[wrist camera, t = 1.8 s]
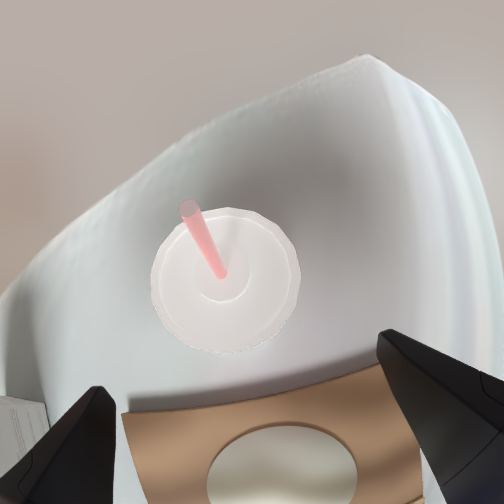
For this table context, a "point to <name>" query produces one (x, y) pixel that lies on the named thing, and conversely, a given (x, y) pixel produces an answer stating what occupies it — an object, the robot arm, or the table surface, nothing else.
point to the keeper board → (282, 448)
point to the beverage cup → (224, 279)
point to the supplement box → (19, 429)
